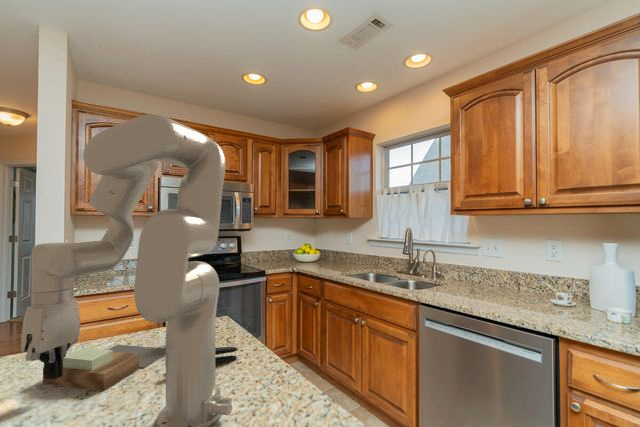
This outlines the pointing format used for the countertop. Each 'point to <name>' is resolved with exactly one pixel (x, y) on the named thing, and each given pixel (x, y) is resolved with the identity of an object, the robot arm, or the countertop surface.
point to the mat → (141, 353)
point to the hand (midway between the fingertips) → (53, 377)
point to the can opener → (224, 358)
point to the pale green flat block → (87, 358)
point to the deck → (98, 373)
